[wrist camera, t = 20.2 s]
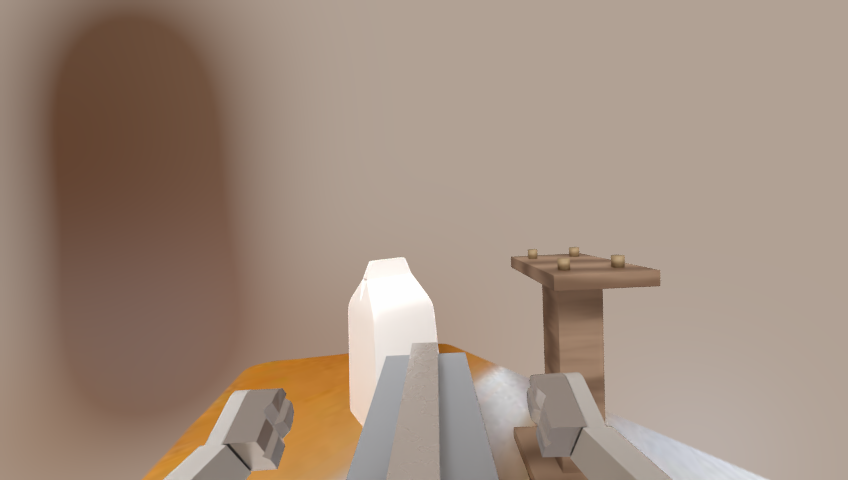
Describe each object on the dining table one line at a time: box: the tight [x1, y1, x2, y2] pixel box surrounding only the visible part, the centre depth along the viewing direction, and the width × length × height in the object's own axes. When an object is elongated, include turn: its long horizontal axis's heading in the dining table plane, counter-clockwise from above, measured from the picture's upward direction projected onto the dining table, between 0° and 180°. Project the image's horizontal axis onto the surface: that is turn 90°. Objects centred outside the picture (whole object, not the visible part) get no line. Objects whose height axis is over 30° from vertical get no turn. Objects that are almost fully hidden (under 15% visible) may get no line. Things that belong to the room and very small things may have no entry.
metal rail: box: [386, 342, 441, 480], centre depth 26 cm, size 22×3×2 cm, turn 178°
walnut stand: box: [511, 247, 660, 480], centre depth 39 cm, size 16×12×27 cm
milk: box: [348, 257, 439, 426], centre depth 52 cm, size 12×12×26 cm
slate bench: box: [346, 353, 499, 480], centre depth 31 cm, size 20×10×15 cm, turn 179°
